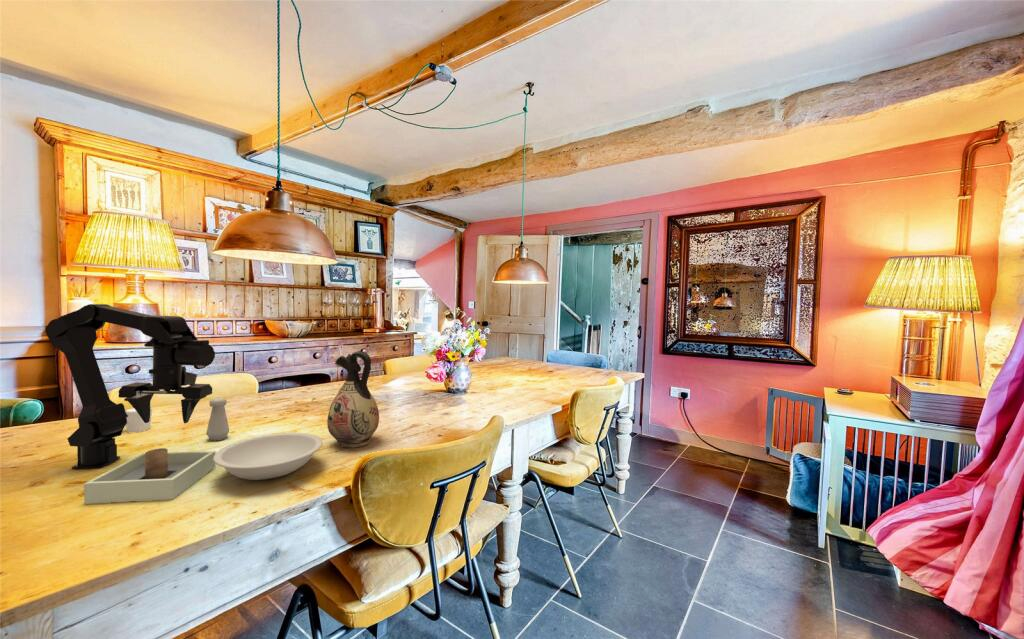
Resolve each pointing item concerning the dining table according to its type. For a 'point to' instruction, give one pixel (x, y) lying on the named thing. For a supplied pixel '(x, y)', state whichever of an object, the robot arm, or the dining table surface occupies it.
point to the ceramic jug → (353, 405)
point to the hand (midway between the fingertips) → (166, 422)
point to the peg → (156, 464)
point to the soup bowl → (268, 455)
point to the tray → (133, 486)
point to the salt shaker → (218, 420)
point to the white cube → (136, 421)
